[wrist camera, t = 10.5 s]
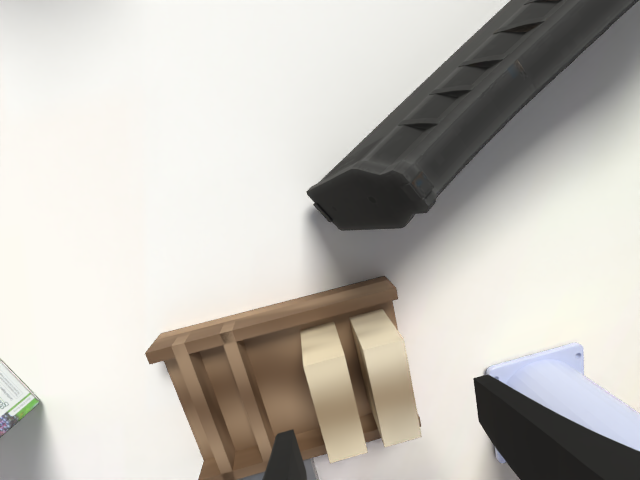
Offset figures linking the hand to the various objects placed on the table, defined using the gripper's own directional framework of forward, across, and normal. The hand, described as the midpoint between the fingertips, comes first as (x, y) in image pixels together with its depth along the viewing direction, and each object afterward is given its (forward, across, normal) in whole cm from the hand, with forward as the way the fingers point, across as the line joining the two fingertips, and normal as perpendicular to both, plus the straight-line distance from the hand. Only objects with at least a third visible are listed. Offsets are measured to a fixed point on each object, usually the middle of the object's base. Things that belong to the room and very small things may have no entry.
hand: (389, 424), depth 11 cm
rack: (+10, +4, +4) cm, 12 cm away
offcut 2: (+10, -2, +4) cm, 11 cm away
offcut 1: (+10, +2, +4) cm, 11 cm away
